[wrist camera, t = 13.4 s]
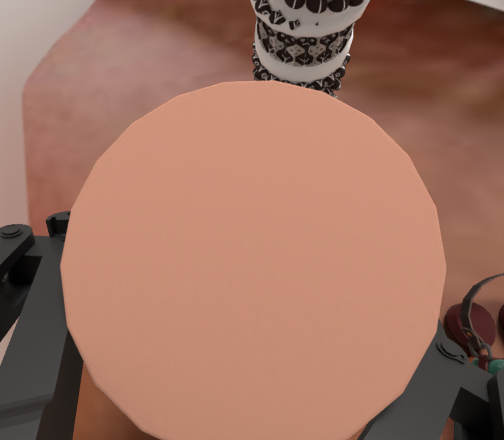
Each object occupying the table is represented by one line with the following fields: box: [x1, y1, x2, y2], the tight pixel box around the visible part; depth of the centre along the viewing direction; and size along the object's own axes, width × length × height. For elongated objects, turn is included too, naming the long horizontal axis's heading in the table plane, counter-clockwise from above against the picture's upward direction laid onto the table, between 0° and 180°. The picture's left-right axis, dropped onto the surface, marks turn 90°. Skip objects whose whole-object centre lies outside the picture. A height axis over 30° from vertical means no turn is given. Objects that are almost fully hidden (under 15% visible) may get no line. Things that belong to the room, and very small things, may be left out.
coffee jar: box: [60, 80, 447, 440], centre depth 16 cm, size 11×11×18 cm
